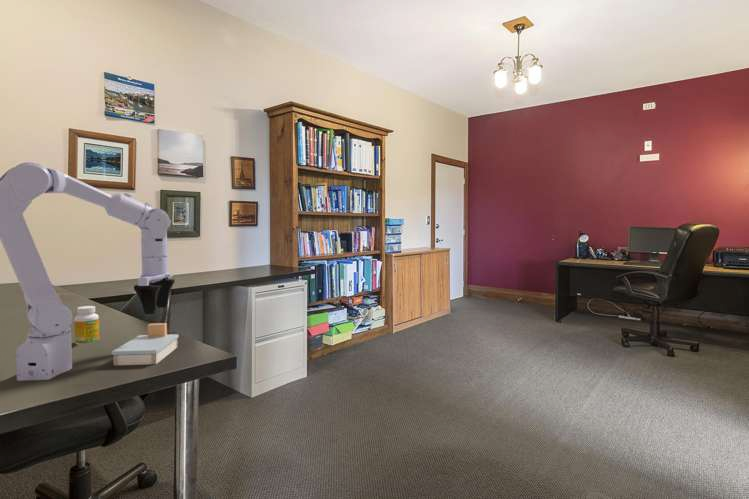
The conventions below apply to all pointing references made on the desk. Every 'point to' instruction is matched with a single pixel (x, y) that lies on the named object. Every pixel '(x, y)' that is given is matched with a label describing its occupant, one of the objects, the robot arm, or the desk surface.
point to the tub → (145, 356)
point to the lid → (148, 341)
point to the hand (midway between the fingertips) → (156, 310)
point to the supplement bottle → (86, 325)
